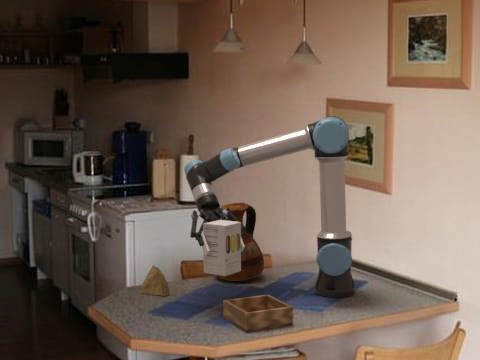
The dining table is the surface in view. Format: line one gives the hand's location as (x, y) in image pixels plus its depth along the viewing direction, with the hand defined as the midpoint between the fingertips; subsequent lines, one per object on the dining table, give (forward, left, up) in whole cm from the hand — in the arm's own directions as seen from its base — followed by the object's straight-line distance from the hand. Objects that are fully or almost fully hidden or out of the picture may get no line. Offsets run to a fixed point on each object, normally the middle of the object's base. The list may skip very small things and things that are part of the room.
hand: (225, 251), depth 268 cm
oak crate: (-5, +14, -21) cm, 25 cm away
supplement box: (0, -2, -8) cm, 8 cm away
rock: (+13, -32, -21) cm, 41 cm away
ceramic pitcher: (-25, -40, -21) cm, 52 cm away
